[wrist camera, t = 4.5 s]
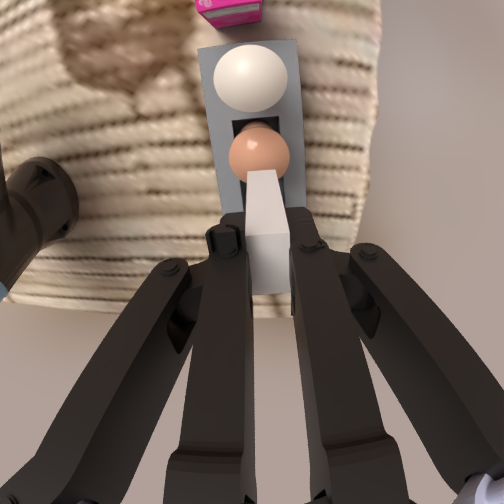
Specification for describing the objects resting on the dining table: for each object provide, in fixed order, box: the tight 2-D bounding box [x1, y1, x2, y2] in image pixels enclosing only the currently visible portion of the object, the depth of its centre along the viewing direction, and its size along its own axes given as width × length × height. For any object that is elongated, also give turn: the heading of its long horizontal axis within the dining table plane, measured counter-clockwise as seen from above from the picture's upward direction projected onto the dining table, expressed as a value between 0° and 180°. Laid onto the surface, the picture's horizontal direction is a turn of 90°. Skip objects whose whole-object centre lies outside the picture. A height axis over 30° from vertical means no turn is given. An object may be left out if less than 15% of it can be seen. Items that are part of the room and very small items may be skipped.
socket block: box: [197, 39, 306, 216], centre depth 32 cm, size 10×22×6 cm, turn 6°
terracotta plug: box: [229, 119, 290, 183], centre depth 28 cm, size 5×5×9 cm
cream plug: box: [213, 45, 288, 112], centre depth 22 cm, size 5×5×9 cm
